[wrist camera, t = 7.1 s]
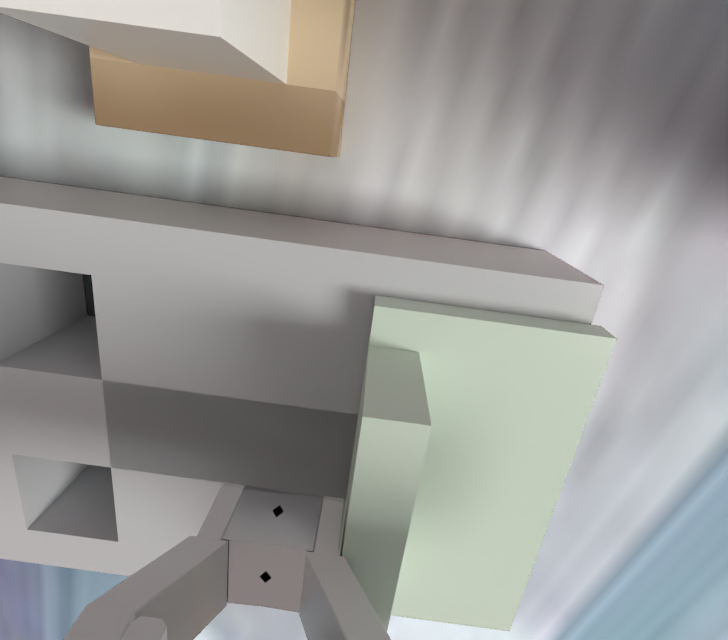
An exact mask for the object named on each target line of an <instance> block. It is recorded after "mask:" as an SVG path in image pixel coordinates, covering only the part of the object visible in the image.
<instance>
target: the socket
mask: <svg viewBox="0 0 728 640" xmlns="http://www.w3.org/2000/svg"><path fill="white" fill-rule="evenodd" d="M83 274H86V275H91V277H92V287H93V297H94V307H95V316H88V315H87V309H86V300H85V291H84V281H83ZM603 288H604V285H603V284H601V283H599V282H598V281H596V280H594V279H593V278H591V277H589V276H588V275H586V274H584V273H583V272H581V271H579V270H578V269H576V268H574V267H573V266H571V265H569V264H567V263H566V262H564V261H562V260H561V259H559V258H557V257H556V256H554V255H552V254H551V253H549V252H547V251H543V250H536V249H528V248H521V247H514V246H506V245H499V244H492V243H484V242H477V241H470V240H462V239H455V238H448V237H440V236H433V235H426V234H418V233H411V232H404V231H396V230H389V229H382V228H374V227H367V226H360V225H352V224H345V223H338V222H330V221H323V220H316V219H309V218H301V217H294V216H287V215H279V214H272V213H265V212H257V211H250V210H243V209H235V208H228V207H221V206H213V205H206V204H199V203H191V202H184V201H177V200H169V199H162V198H155V197H147V196H140V195H133V194H125V193H118V192H111V191H103V190H96V189H89V188H81V187H74V186H67V185H59V184H52V183H45V182H37V181H30V180H23V179H15V178H8V177H1V176H0V559H8V560H15V561H22V562H30V563H37V564H45V565H52V566H59V567H67V568H74V569H82V570H89V571H97V572H104V573H111V574H119V575H126V576H131V575H133V574H134V573H136V572H137V571H139V570H140V569H142V568H143V567H144V566H146V565H147V564H149V563H150V562H152V561H153V560H155V559H156V558H158V557H159V556H161V555H162V554H164V553H165V552H167V551H168V550H170V549H171V548H173V547H174V546H176V545H177V544H179V543H180V542H181V541H183V540H184V539H186V538H187V537H189V536H197V534H198V532H199V530H200V528H201V526H202V524H203V522H204V520H205V518H206V516H207V514H208V512H209V510H210V508H211V506H212V504H213V502H214V500H215V498H216V496H217V494H218V492H219V490H220V488H221V487H222V486H223V485H224V484H225V483H226V482H227V483H233V484H239V485H244V486H246V485H248V486H254V487H260V488H267V489H273V490H279V491H286V492H294V493H302V494H310V495H318V496H327V497H335V498H344V500H345V503H346V496H347V489H348V482H349V475H350V468H351V461H352V454H353V447H354V440H355V433H356V426H357V419H358V412H359V406H360V399H361V392H362V385H363V378H364V371H365V364H366V357H367V350H368V343H369V336H370V329H371V322H372V315H373V308H374V301H375V295H377V296H385V297H392V298H399V299H407V300H414V301H421V302H429V303H436V304H443V305H451V306H458V307H465V308H473V309H480V310H487V311H495V312H502V313H509V314H517V315H524V316H531V317H539V318H546V319H553V320H561V321H568V322H575V323H583V324H590V325H591V323H592V320H593V317H594V314H595V311H596V309H597V306H598V303H599V300H600V297H601V294H602V291H603ZM344 510H345V505H344ZM343 517H344V513H343ZM342 524H343V522H342ZM341 531H342V530H341Z"/></svg>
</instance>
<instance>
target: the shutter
mask: <svg viewBox="0 0 728 640" xmlns="http://www.w3.org/2000/svg"><path fill="white" fill-rule="evenodd" d="M616 341H617V338H615V337H614V336H613V335H612V334H610V333H609V332H608V331H607V330H605V329H604V328H603V327H602V326H597V325H590V324H583V323H575V322H568V321H561V320H553V319H546V318H539V317H531V316H524V315H517V314H509V313H502V312H495V311H487V310H480V309H473V308H465V307H458V306H451V305H443V304H436V303H429V302H421V301H414V300H407V299H399V298H392V297H385V296H377V295H375V301H374V308H373V315H372V322H371V329H370V336H369V343H368V350H367V357H366V364H365V371H364V378H363V385H362V392H361V399H360V406H359V412H358V419H357V426H356V433H355V440H354V447H353V454H352V461H351V468H350V475H349V482H348V489H347V496H346V503H345V510H344V517H343V524H342V531H341V539H340V547H339V555H338V556H342V557H345V558H346V560H347V562H348V564H349V566H350V567H351V569H352V571H353V573H354V574H355V576H356V578H357V580H358V582H359V583H360V585H361V587H362V589H363V591H364V592H365V594H366V596H367V598H368V600H369V601H370V603H371V605H372V607H373V609H374V610H375V612H376V614H377V616H378V618H379V619H380V621H381V623H382V625H383V627H384V628H385V630H386V632H387V629H388V624H389V619H390V615H392V616H400V617H407V618H414V619H422V620H429V621H437V622H444V623H451V624H459V625H466V626H474V627H481V628H488V629H496V630H503V631H510V629H511V626H512V623H513V620H514V618H515V615H516V612H517V610H518V607H519V604H520V601H521V599H522V596H523V593H524V590H525V588H526V585H527V582H528V580H529V577H530V574H531V571H532V569H533V566H534V563H535V561H536V558H537V555H538V552H539V550H540V547H541V544H542V542H543V539H544V536H545V533H546V531H547V528H548V525H549V523H550V520H551V517H552V514H553V512H554V509H555V506H556V504H557V501H558V498H559V495H560V493H561V490H562V487H563V485H564V482H565V479H566V476H567V474H568V471H569V468H570V465H571V463H572V460H573V457H574V455H575V452H576V449H577V446H578V444H579V441H580V438H581V436H582V433H583V430H584V427H585V425H586V422H587V419H588V417H589V414H590V411H591V408H592V406H593V403H594V400H595V398H596V395H597V392H598V389H599V387H600V384H601V381H602V379H603V376H604V373H605V370H606V368H607V365H608V362H609V360H610V357H611V354H612V351H613V349H614V346H615V343H616Z"/></svg>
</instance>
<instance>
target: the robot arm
mask: <svg viewBox="0 0 728 640" xmlns="http://www.w3.org/2000/svg"><path fill="white" fill-rule="evenodd" d="M344 505H345V500H344V498H335V497H327V496H318V495H310V494H302V493H294V492H286V491H279V490H273V489H267V488H260V487H254V486H248V485H246V486H244V485H239V484H233V483H227V482H226V483H225V484H224V485H223V486H222V487H221V488H220V490H219V492H218V494H217V496H216V498H215V500H214V502H213V504H212V506H211V508H210V510H209V512H208V514H207V516H206V518H205V520H204V522H203V524H202V526H201V528H200V530H199V532H198V534H197V536H189V537H187V538H186V539H184V540H183V541H181V542H180V543H179V544H177V545H176V546H174V547H173V548H171V549H170V550H168V551H167V552H165V553H164V554H162V555H161V556H159V557H158V558H156V559H155V560H153V561H152V562H150V563H149V564H147V565H146V566H144V567H143V568H142V569H140V570H139V571H137V572H136V573H134V574H133V575H131V576H130V577H128V578H127V579H125V580H124V581H122V582H121V583H119V584H118V585H116V586H115V587H113V588H112V589H110V590H109V591H107V592H106V593H104V594H103V595H102V596H100V597H99V598H97V599H96V600H94V601H93V602H91V603H90V604H88V605H87V606H86V607H85V608H84V610H83V611H82V612H81V614H80V615H79V617H78V618H77V620H76V621H75V623H74V624H73V626H72V627H71V629H70V630H69V632H68V633H67V635H66V636H65V638H64V639H63V640H193V639H194V638H195V637H196V636H197V635H198V634H199V633H200V632H201V631H202V630H203V629H204V628H205V627H206V626H207V625H208V624H209V623H210V622H211V621H212V620H213V619H214V618H215V617H216V616H217V615H218V614H219V613H220V612H221V611H222V610H223V608H224V607H225V606H226V605H227V603H235V604H244V605H254V606H263V607H269V608H275V609H281V610H287V611H293V612H299V615H300V618H301V621H302V624H303V627H304V630H305V633H306V636H307V639H308V640H391V639H390V637H389V636H388V634H387V632H386V630H385V628H384V627H383V625H382V623H381V621H380V619H379V618H378V616H377V614H376V612H375V610H374V609H373V607H372V605H371V603H370V601H369V600H368V598H367V596H366V594H365V592H364V591H363V589H362V587H361V585H360V583H359V582H358V580H357V578H356V576H355V574H354V573H353V571H352V569H351V567H350V566H349V564H348V562H347V560H346V558H345V557H342V556H338V555H339V547H340V539H341V530H342V522H343V513H344Z"/></svg>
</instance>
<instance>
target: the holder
mask: <svg viewBox="0 0 728 640" xmlns="http://www.w3.org/2000/svg"><path fill="white" fill-rule="evenodd" d="M354 6H355V0H291V15H290V33H289V51H288V68H287V84H280V83H273V82H266V81H258V80H251V79H244V78H237V77H229V76H222V75H215V74H207V73H200V72H193V71H185V70H178V69H171V68H164V67H156V66H149V65H142V64H137V63H135V62H132V61H129V60H127V59H124V58H121V57H118V56H116V55H113V54H110V53H108V52H105V51H102V50H99V49H97V48H94V47H91V46H89V54H90V65H91V77H92V88H93V100H94V111H95V123H96V125H101V126H108V127H116V128H123V129H130V130H138V131H145V132H152V133H159V134H167V135H174V136H181V137H189V138H196V139H203V140H211V141H218V142H225V143H233V144H240V145H247V146H255V147H262V148H269V149H277V150H284V151H291V152H298V153H306V154H313V155H320V156H328V157H339V156H340V146H341V136H342V126H343V116H344V106H345V96H346V86H347V76H348V66H349V56H350V46H351V36H352V26H353V16H354Z"/></svg>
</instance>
